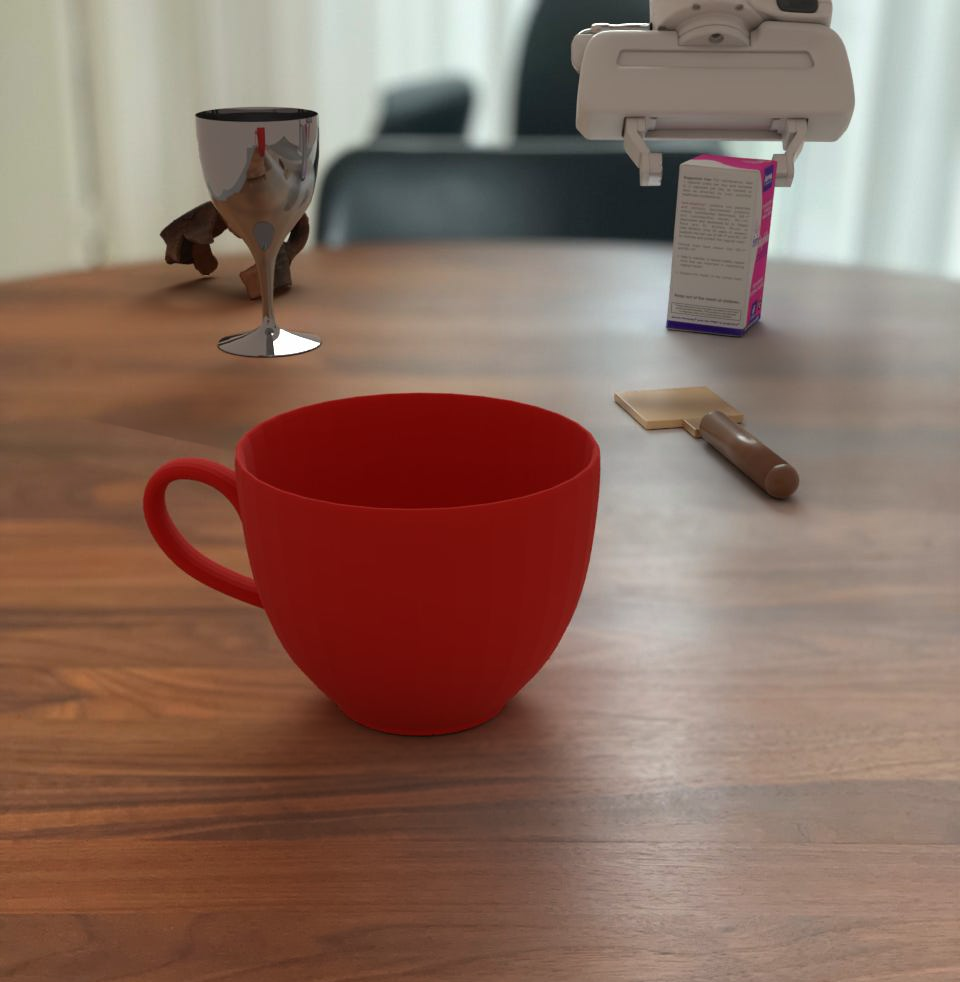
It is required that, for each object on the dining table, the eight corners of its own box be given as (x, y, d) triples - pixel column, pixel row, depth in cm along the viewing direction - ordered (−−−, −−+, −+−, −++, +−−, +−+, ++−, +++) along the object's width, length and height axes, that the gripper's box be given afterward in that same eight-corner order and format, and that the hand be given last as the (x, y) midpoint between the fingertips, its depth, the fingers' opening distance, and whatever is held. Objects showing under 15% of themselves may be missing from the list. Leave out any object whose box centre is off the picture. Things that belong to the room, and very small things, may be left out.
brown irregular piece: (227, 314, 112) (171, 213, 111) (186, 343, 121) (133, 250, 119) (351, 252, 118) (299, 155, 116) (303, 284, 126) (254, 194, 124)
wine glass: (279, 364, 99) (266, 125, 92) (187, 347, 102) (168, 116, 96) (350, 338, 105) (343, 112, 98) (261, 322, 108) (248, 104, 102)
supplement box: (745, 338, 105) (759, 169, 100) (663, 329, 107) (673, 163, 102) (764, 319, 110) (779, 157, 105) (686, 311, 112) (697, 152, 107)
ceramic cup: (216, 604, 65) (198, 378, 60) (607, 634, 62) (617, 401, 58) (97, 754, 53) (63, 488, 49) (570, 799, 51) (580, 523, 46)
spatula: (613, 400, 92) (614, 371, 91) (705, 393, 93) (707, 365, 92) (731, 508, 75) (734, 474, 75) (841, 498, 77) (845, 465, 76)
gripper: (573, -6, 110) (575, 152, 105) (853, -4, 109) (867, 155, 105) (568, 53, 115) (570, 206, 111) (834, 56, 115) (846, 209, 111)
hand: (716, 181), depth 108 cm, fingers open, 8 cm apart
